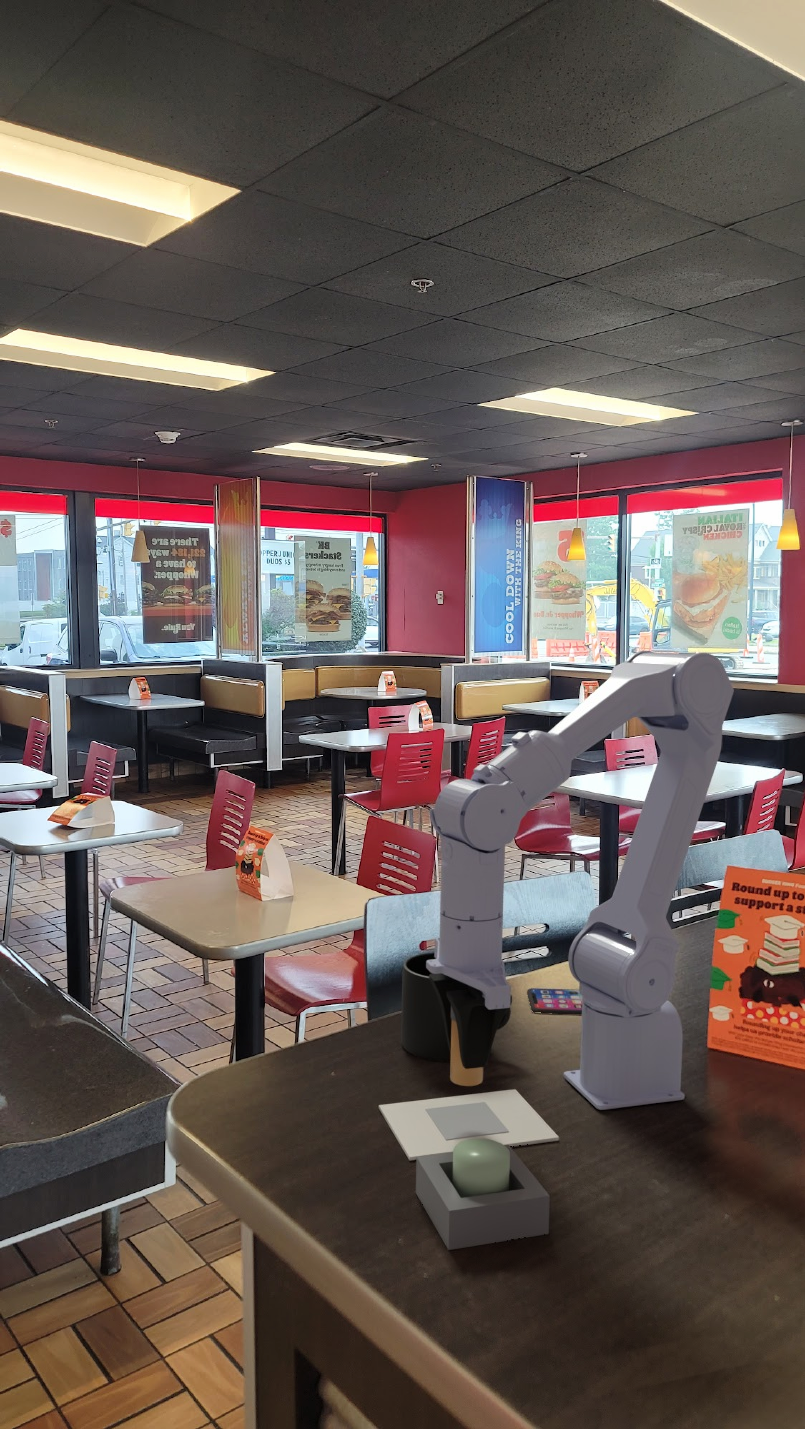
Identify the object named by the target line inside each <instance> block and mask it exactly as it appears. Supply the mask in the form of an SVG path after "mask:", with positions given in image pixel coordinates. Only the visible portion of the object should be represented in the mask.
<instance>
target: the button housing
mask: <svg viewBox="0 0 805 1429" xmlns="http://www.w3.org/2000/svg"><path fill="white" fill-rule="evenodd" d="M504 1146H506V1147H507V1148H508V1150H509V1152H510V1172H509V1191H506V1192H499V1193H492V1194H485V1195H479V1196H472V1197H465V1198H461V1197H460V1196H459V1194H458V1193H457V1191H456V1190H455V1188H454V1187H453V1185H452V1182H453V1152H450V1153H443V1154H435V1155H428V1156H420V1157H417V1160H416V1168H415V1194H416V1195H417V1197H418V1199H419V1201H420V1202H421V1205H422V1204H423V1205H422V1207H423V1208H424V1209H425V1210H424V1211H426V1214H428V1217H429V1219H430V1220H431V1223H432V1224H433V1226H434V1227H435V1229H436V1231H437V1232H438V1234H439V1236H440V1238H441V1240H442V1242H443V1243H444V1245H445V1246H446V1248H447V1250H448V1251H452V1250H457V1249H463V1248H464V1249H465V1248H470V1247H476V1246H483V1245H488V1244H494V1243H495V1242H496V1243H500V1242H501V1243H502V1242H506V1241H507V1240H508V1241H512V1240H511V1239H514V1240H519V1239H518V1238H520V1239H525V1238H524V1237H526V1238H531V1237H537V1236H544V1234H545V1235H549V1231H550V1201H551V1200H550V1199H551V1198H550V1194H549V1193H548V1192H547V1191H546V1189H545V1188H544V1187H543V1186H542V1184H541V1182H539V1180H538V1179H537V1177H535V1175H534V1174H533V1173H532V1172H531V1171H530V1169H529V1168H528V1167H527V1166H526V1164H525V1163H524V1162H523V1161H522V1159H521V1158H520V1157H519V1155H518V1154H517V1153H516V1152H515V1151H514V1149H513V1147H510V1146H509V1145H504ZM508 1241H507V1242H508Z"/></svg>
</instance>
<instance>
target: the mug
mask: <svg viewBox="0 0 805 1429" xmlns="http://www.w3.org/2000/svg"><path fill="white" fill-rule="evenodd" d="M434 953H435V951H433V952H425V953H420V954H419V953H418V954H416V955H412V956H410V957H408V958H406V959H405V960H404V962H403V964H402V980H401V982H402V983H401V985H402V986H401V987H402V988H401V990H402V991H401V1027H400V1028H401V1030H400V1034H401V1035H400V1036H401V1039H400V1041H401V1045H402V1047H403V1049H404V1050H405V1051H406V1052H408V1053H409V1054H411V1055H413V1056H415V1057H417V1058H420V1059H424V1060H429V1061H433V1062H445V1063H447V1062H450V1063H451V1051H450V1050H449V1046H448V1042H447V1038H446V1032H445V1026H444V1021H443V1016H442V1011H441V1007H440V1004H439V1001H438V998H437V995H436V992H435V990H434V988H433V986H432V984H431V982H430V979H429V975H430V974H432V973H431V972H430V971H429V970H428V969H427V968H426V961H427V960H432V959H436V958H435V957H434ZM511 1009H512V1008H511V1007H510V1008H508V1010H507V1011H506V1013H505V1014H504V1016H503V1018H502V1020H501V1022H500V1024H499V1026H498V1029H497V1031H498V1030H500V1029H502V1028H503V1027H505V1026H506V1025H507V1024H508V1022H509V1020H510V1017H511V1014H512V1013H511V1012H512V1010H511Z"/></svg>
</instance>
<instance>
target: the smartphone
mask: <svg viewBox="0 0 805 1429" xmlns="http://www.w3.org/2000/svg"><path fill="white" fill-rule="evenodd" d="M526 995H528V996H527V1000H528V999H529V1000H528V1003H529V1002H530V1004H529V1007H530V1006H531V1008H530V1010H532V1011H533V1012H541V1013H552V1014H551V1015H563V1014H582V1000H583V999H582V995H581V994H580V993H579V989H573V988H571V989H567V988H565V989H564V988H560V989H559V988H537V987H536V988H533V987H531V988H529V989H527V990H526ZM532 1011H531V1012H532ZM533 1012H532V1013H533Z"/></svg>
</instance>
